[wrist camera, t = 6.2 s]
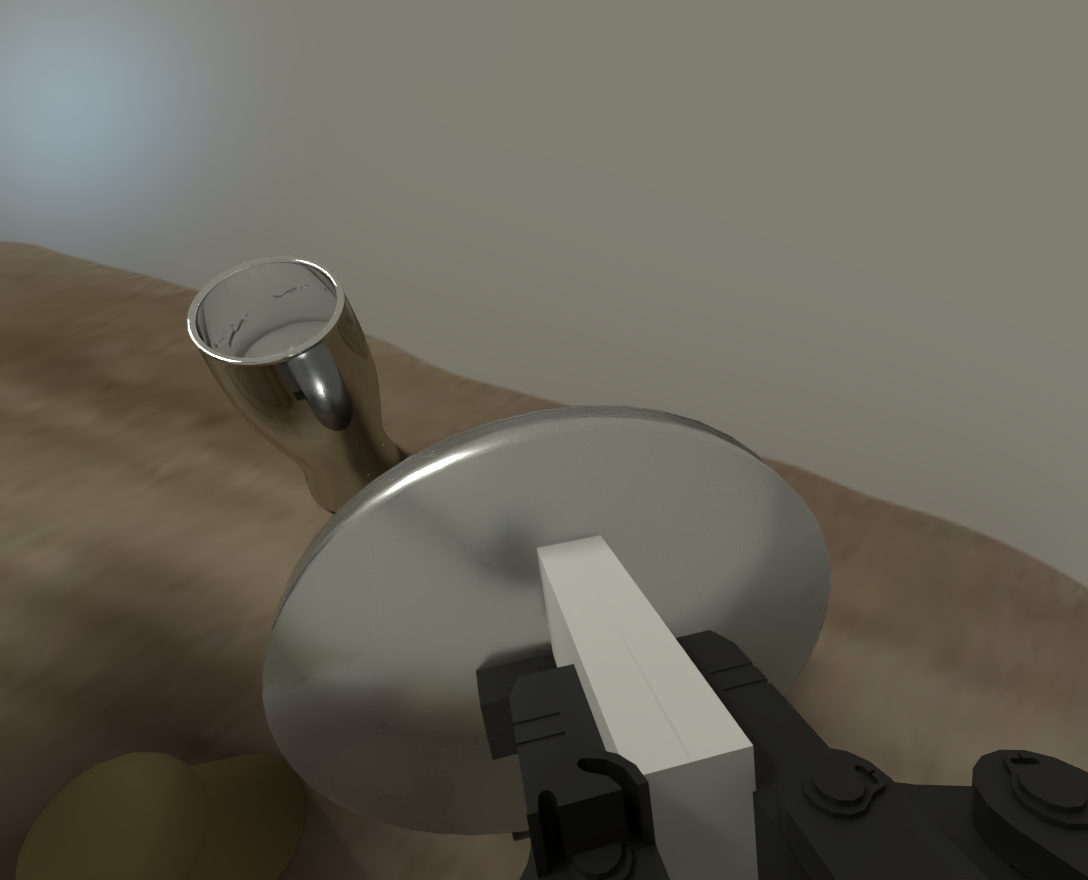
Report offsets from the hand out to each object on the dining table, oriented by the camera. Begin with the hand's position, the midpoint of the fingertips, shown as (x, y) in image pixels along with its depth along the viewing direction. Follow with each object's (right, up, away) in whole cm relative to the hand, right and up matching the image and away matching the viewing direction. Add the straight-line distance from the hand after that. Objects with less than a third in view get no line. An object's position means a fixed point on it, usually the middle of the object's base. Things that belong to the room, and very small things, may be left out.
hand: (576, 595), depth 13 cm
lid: (0, -3, +4) cm, 5 cm away
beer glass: (-13, +1, +24) cm, 27 cm away
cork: (-15, -15, +14) cm, 25 cm away
